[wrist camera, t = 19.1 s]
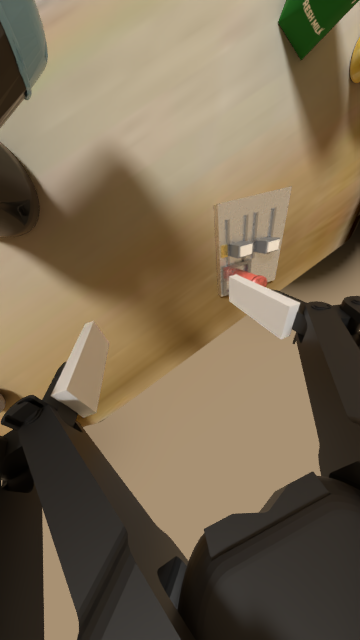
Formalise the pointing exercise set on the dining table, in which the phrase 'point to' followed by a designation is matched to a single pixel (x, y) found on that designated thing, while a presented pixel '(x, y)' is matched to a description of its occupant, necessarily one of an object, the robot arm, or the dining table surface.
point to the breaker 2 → (267, 245)
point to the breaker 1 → (241, 249)
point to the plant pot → (355, 63)
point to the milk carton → (311, 21)
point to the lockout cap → (252, 277)
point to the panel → (249, 233)
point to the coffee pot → (2, 403)
